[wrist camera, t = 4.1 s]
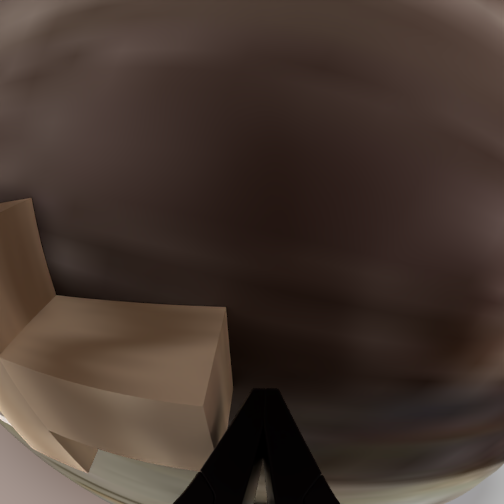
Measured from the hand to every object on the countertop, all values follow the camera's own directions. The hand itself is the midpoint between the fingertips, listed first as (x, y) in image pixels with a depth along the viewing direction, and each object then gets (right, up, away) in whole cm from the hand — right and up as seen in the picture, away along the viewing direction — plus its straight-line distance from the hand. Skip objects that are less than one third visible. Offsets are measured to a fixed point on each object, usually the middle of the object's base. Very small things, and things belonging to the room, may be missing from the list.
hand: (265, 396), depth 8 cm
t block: (-7, +1, +2) cm, 7 cm away
